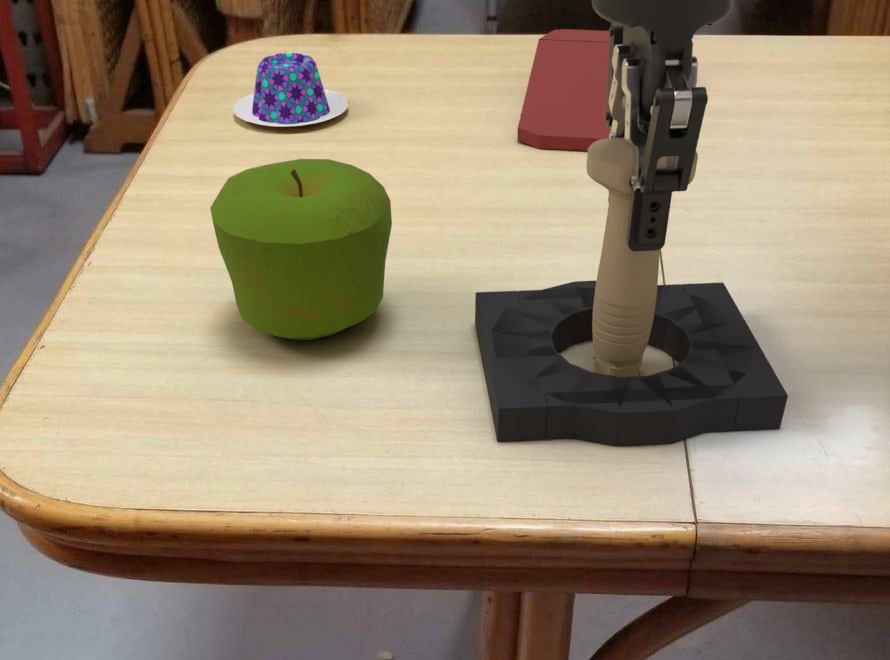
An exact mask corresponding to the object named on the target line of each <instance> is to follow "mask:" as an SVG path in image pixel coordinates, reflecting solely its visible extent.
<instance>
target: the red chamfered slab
mask: <svg viewBox="0 0 890 660" xmlns="http://www.w3.org/2000/svg"><path fill="white" fill-rule="evenodd" d="M609 45H610V37H609V30H593V29H572V28H571V29H569V28H560V29H553V30H551V31H550V32H547V33H546V34H545V35H543V36H541V37H540V38H538V41H537V45H536V48H535V49H536V50H535V52H534V53H535V54H534V58H533V62H532V66H531V70H530V74H529V79H528V82H527V88H526V91H525V95H524V100H523V104H522V107H521V108H522V109H521V112H520V116H519V120H518V125H517V141H518V142H521V143H524V144H526V145H529V146H531V147H534V148H537V149H543V150H544V149H547V150H565V151H580V152H583V151H584V152H588V148H589V146H590V145H591V144H592V143H594V142H596V141H598V140H600V139H609V133H611V127H607V125H606V121H605V112H606V105H607V85H608V65H609ZM624 95H625V93H624Z"/></svg>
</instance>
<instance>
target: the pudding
mask: <svg viewBox="0 0 890 660" xmlns="http://www.w3.org/2000/svg"><path fill="white" fill-rule="evenodd" d="M254 81H255V82H254V90H253V92H251V93H249V94H247V95H244V96H243V97H241V98H240V99H238V100H237V101H236V102H235V103H234V105H232V108H233V109H232V111H233V114H234V115H235V116H236V117H237V118H239V119H241V120H243V121H245V122H248V123H252V124H256V125H260V126H264V127H265V126H266V127H277V128H278V127H281V128H283V127H284V128H285V127H286V128H288V127H301V126H309V125H315V124H319V123H323V122H327V121H328V120H331V119H333V118H336V117H338V116H340V115H341V114H344V112H346V110H347V109H348V107H349V100H348V99H347V97H345V96H344V95H343V94H341V93H340V92H337V91H335V90H331V89H327V88H324V85H323V82H322V79H321V76H320V72H319V69H318V66H317V63H316V61H315V59H314V58H313V57H312V56H311V55H307V54H303V53H301V52H300V53H298V52H291V53H288V52H280V53H276V54H273V55H268V56H265V57H264V58H263V59H262V60H260V62H259V63H258V65H257V68H256V74H255V80H254Z"/></svg>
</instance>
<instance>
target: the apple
mask: <svg viewBox="0 0 890 660" xmlns="http://www.w3.org/2000/svg"><path fill="white" fill-rule="evenodd" d="M391 205H392V203H391V199H390V196H389V195H388V193H387V190H386V189H385V187H384V186H383V184H381V183H380V182H379V181H378V180H377V179H376V177H374V176H373V175H372V174H371V173H369V172H368V171H365V170H364V169H361V168H359V167H357V166H355V165H353V164H350V163H345V162H341V161H337V160H333V159H329V158H328V159H327V158H298V159H292V160H286V161H279V162H273V163H268V164H264V165H259V166H256V167H251V168H247V169H244V170H242V171H240V172H238V173H236V174H234V175H231V176H230V177H228V178H227V179H226V181H225V182H224V184H223V186H222V187H221V189H220V191H219V192H218V194H217V196H216V197H215V199H214V200H213V203H212V204H211V205H210V207H209V209H210V215H211V220H212V224H213V228H214V234H215V238H216V241H217V246H218V250H219V252H220V255H221V257H222V260H223V262H224V265H225V268H226V271H227V273H228V275H229V278H230V281H231V284H232V289H233V294H234V297H235V303H236V307H237V309H238V311H239V314H240V316H241V319H243V320H244V321H245V322H246V323H247V324H248V325H250V326H251V327H252V328H254V329H255V330H256V331H259V332H262V333H265V334H268V335H271V336H274V337H277V338H282V339H286V340H287V339H288V340H293V341H302V340H305V341H307V340H309V341H310V340H317V339H322V338H327V337H330V336H332V335H335V334H337V333H339V332H341V331H343V330H346V329H348V328H350V327H352V326H354V325H357V324H358V323H362V321H364V320H366V319H367V318H368V317H370V316H371V315H372V314H373V313H375V312H376V311H377V310H378V308H379V307H380V304H381V302H382V301H383V298H384V287H385V274H386V272H385V271H386V260H387V256H388V255H387V254H388V249H389V243H390V239H391V238H390V237H391V233H392V226H393V222H392V221H393V220H392V206H391Z"/></svg>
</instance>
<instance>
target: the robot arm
mask: <svg viewBox="0 0 890 660" xmlns="http://www.w3.org/2000/svg"><path fill="white" fill-rule="evenodd" d="M734 1H735V0H591V5H592V8H593V10H594V12H595V13H596V14H597V15H598V16H599V17H600V18H601V19H604V20H605V21H607V22H609V23H610V27H609V28H608V31H609V37H610V45H609V65H608V85H607V105H606V112H605V121H606V125H607V127H611V133H609V138H622V137H625V143H626V144H627V145H628V146H629V147H631V148H632V150H633V166H632V176H631V185H632V192H631V200H630V209H629V218H628V226H627V235H626V242H627V244H628V247H629V248H630V250H632V251H656V250H660V251H661V249H662V248H663V247H664V246H665V244H666V238H667V231H668V226H669V225H668V224H669V219H670V212H671V211H670V210H671V203H672V197H673V193H675V192H686V191H687V190H688V187H689V185H690V184H689V180H690V174H691V170H692V165H693V161H694V157H695V152H697V148H698V144H699V139H700V134H701V130H702V125H703V121H704V116H705V112H706V108H707V104H708V101H709V96H708V91H707V87H705V86H697V84H698V69H699V67H698V66H699V62H698V57H697V56H695V55H693V50H694V42H693V38H694V36H695V34H696V32H698V31H699V30H700V29H702V28H704V27H705V26H712V25H716V24H717V23H720V22H722V21H723V20H725V19H726V18H727V16H729V14H730V13H731V11H732V9H733V6H734ZM624 93H625V95H624ZM661 157H667V160H666V168H657V162H658V160H659V159H660V158H661ZM607 203H608V204H609V195H608V197H607Z"/></svg>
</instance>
